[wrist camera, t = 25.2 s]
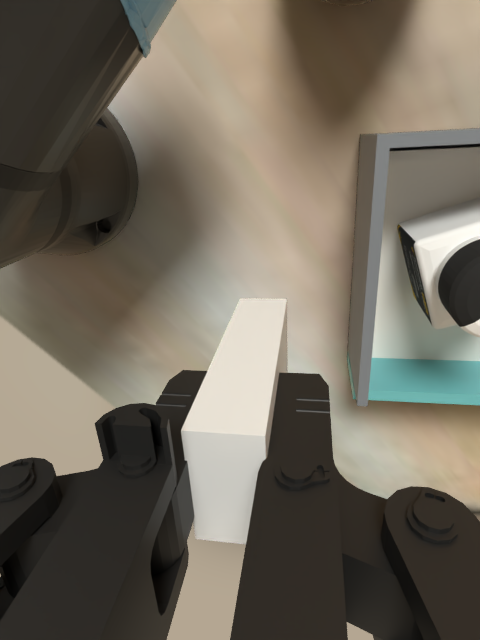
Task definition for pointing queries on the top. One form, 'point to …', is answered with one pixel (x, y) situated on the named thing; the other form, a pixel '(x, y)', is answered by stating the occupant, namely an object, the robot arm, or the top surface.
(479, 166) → the tray
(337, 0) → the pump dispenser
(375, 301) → the bay
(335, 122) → the top surface
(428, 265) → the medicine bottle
